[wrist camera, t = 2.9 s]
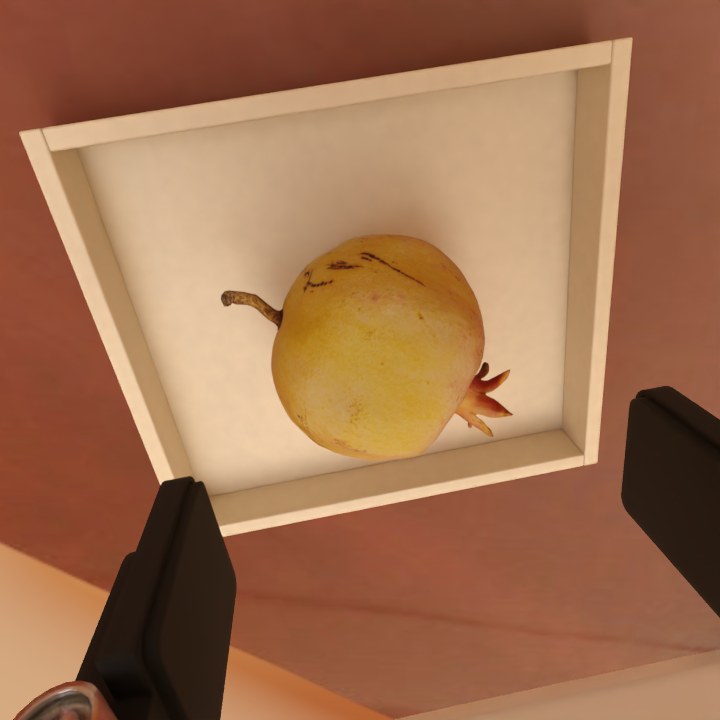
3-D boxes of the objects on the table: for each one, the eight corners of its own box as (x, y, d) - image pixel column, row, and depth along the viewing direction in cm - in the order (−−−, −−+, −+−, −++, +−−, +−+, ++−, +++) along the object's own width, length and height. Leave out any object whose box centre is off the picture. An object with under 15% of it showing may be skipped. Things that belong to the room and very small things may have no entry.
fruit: (154, 443, 14) (456, 548, 17) (247, 235, 10) (614, 416, 13) (215, 309, 19) (434, 405, 22) (289, 141, 16) (542, 283, 18)
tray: (193, 505, 22) (183, 545, 20) (53, 129, 16) (17, 131, 14) (570, 432, 23) (597, 463, 21) (590, 46, 17) (634, 36, 14)
